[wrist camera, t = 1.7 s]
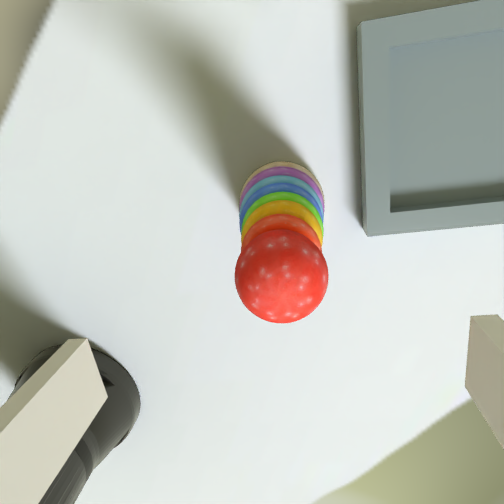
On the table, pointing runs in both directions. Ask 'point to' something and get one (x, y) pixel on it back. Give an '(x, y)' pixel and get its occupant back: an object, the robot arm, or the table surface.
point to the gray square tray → (432, 118)
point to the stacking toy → (281, 243)
